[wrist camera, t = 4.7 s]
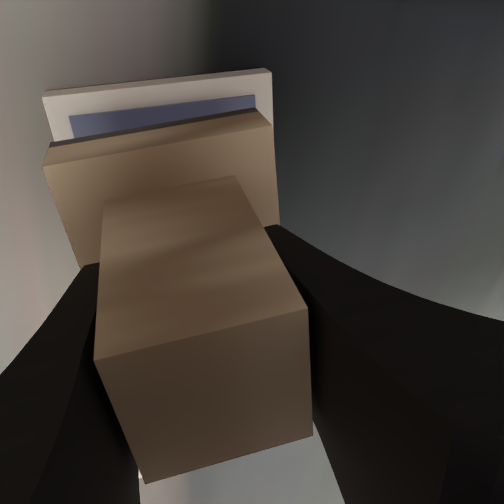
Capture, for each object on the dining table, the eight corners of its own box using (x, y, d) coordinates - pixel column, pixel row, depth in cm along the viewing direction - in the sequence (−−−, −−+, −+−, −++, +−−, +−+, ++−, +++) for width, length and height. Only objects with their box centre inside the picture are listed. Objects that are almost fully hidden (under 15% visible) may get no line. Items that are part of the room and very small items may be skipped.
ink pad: (264, 68, 17) (272, 73, 16) (271, 245, 22) (278, 258, 21) (45, 91, 16) (40, 98, 15) (99, 276, 20) (97, 291, 19)
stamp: (254, 107, 11) (376, 233, 6) (270, 267, 14) (363, 452, 9) (51, 142, 11) (-19, 322, 5) (108, 304, 14) (101, 531, 8)
